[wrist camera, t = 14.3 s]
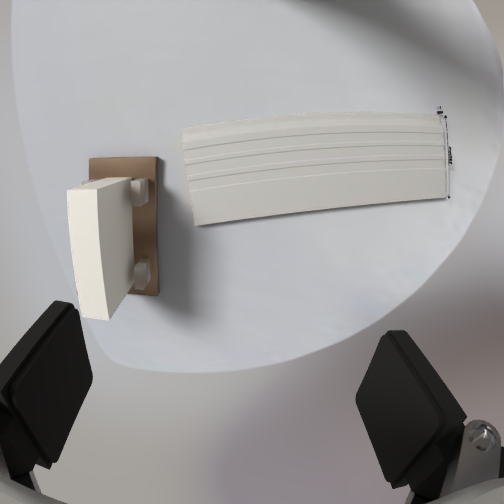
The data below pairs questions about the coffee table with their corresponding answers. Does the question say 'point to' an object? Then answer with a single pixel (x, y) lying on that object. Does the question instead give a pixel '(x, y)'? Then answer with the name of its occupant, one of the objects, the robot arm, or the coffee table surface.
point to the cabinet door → (101, 244)
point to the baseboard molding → (312, 163)
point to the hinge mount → (137, 213)
